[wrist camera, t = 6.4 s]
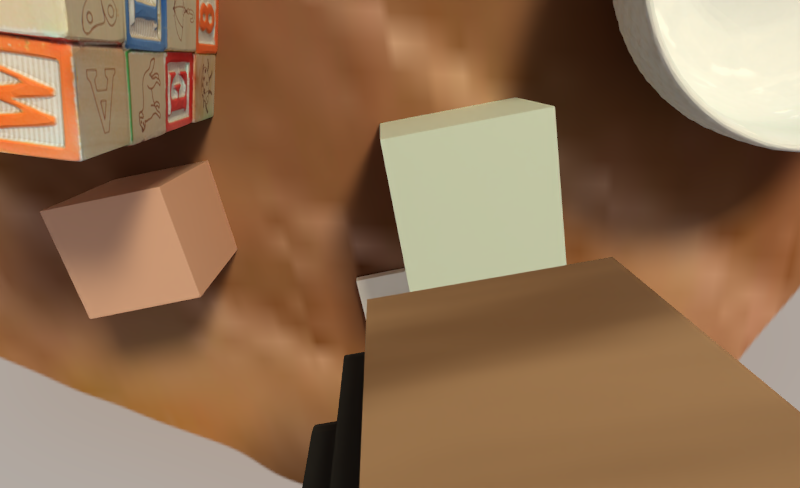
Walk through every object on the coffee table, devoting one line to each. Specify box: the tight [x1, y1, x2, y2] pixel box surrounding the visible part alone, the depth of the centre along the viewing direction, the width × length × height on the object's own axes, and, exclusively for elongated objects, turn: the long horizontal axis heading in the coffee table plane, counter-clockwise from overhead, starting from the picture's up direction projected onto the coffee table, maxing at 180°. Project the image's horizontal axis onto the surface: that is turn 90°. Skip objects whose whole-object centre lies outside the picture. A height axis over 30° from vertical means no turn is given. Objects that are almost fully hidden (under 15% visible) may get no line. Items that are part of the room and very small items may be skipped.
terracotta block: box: [40, 160, 237, 319], centre depth 23 cm, size 5×5×6 cm
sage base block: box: [380, 97, 566, 292], centre depth 23 cm, size 7×7×6 cm
